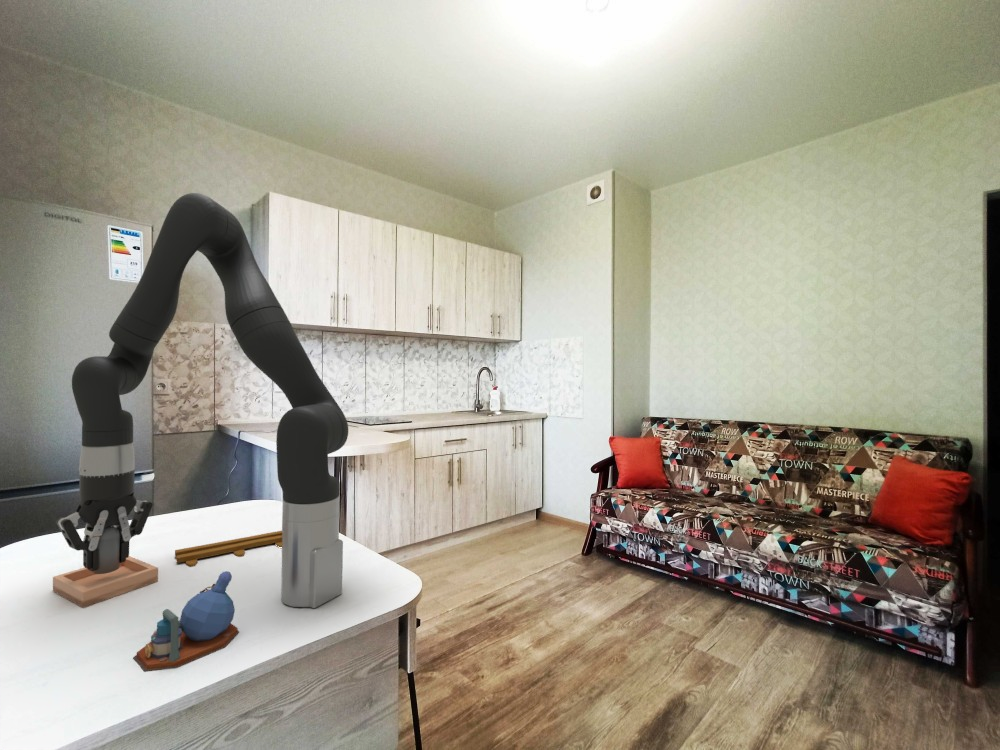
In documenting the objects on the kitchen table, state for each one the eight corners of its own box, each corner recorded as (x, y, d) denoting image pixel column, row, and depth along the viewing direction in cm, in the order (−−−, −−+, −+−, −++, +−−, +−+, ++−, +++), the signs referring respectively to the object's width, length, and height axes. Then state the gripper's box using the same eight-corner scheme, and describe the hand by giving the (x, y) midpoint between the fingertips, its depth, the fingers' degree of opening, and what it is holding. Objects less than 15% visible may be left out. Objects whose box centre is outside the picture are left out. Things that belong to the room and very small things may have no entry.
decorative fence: (173, 555, 100) (178, 572, 92) (174, 546, 100) (178, 562, 92) (299, 531, 115) (312, 544, 107) (299, 523, 115) (312, 535, 107)
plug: (123, 568, 85) (123, 525, 85) (99, 575, 82) (99, 531, 82) (113, 563, 87) (113, 521, 87) (89, 571, 84) (89, 527, 84)
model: (219, 617, 76) (220, 559, 75) (247, 638, 70) (248, 576, 70) (127, 653, 66) (127, 587, 66) (151, 681, 60) (151, 609, 60)
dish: (157, 581, 87) (158, 567, 87) (83, 607, 77) (83, 592, 77) (126, 567, 92) (126, 555, 92) (52, 591, 82) (52, 576, 82)
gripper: (66, 480, 76) (65, 586, 77) (163, 465, 89) (162, 556, 89) (46, 474, 80) (45, 575, 80) (142, 460, 92) (141, 548, 93)
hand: (106, 565), depth 85 cm, fingers closed on plug, 3 cm apart
